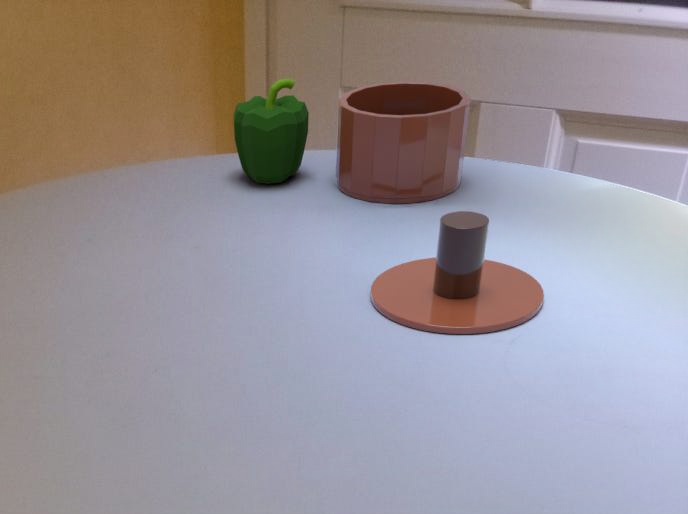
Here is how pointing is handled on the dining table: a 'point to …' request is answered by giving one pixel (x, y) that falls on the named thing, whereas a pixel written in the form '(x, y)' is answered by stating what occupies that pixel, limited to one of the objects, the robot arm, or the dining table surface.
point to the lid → (458, 285)
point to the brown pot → (401, 141)
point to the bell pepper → (271, 134)
